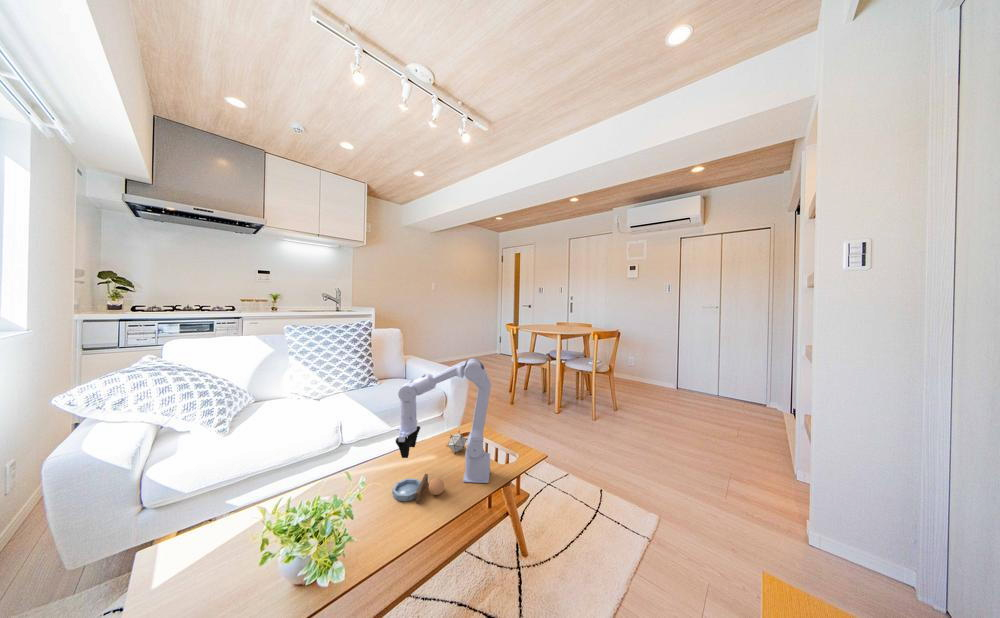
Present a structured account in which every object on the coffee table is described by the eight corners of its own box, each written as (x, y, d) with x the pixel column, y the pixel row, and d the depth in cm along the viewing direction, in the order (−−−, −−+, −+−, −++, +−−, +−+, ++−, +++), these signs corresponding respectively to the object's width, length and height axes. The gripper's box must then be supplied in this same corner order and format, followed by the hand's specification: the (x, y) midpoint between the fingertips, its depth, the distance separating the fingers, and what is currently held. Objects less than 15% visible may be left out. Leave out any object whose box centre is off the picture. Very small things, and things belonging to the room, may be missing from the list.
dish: (425, 484, 109) (425, 479, 109) (416, 502, 100) (416, 496, 100) (399, 483, 110) (399, 478, 110) (388, 501, 100) (388, 495, 100)
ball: (445, 488, 107) (445, 474, 107) (442, 498, 102) (442, 483, 102) (430, 488, 107) (431, 474, 107) (426, 498, 102) (426, 483, 102)
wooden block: (427, 483, 110) (427, 473, 110) (418, 503, 99) (418, 493, 99) (425, 483, 110) (425, 473, 110) (415, 503, 99) (415, 493, 99)
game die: (453, 461, 132) (439, 445, 129) (458, 445, 139) (445, 430, 137) (469, 455, 129) (455, 439, 126) (474, 439, 136) (461, 423, 134)
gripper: (404, 408, 120) (405, 442, 120) (389, 423, 105) (390, 462, 106) (422, 408, 119) (422, 442, 120) (409, 424, 105) (410, 462, 106)
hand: (408, 452), depth 113 cm, fingers open, 7 cm apart
